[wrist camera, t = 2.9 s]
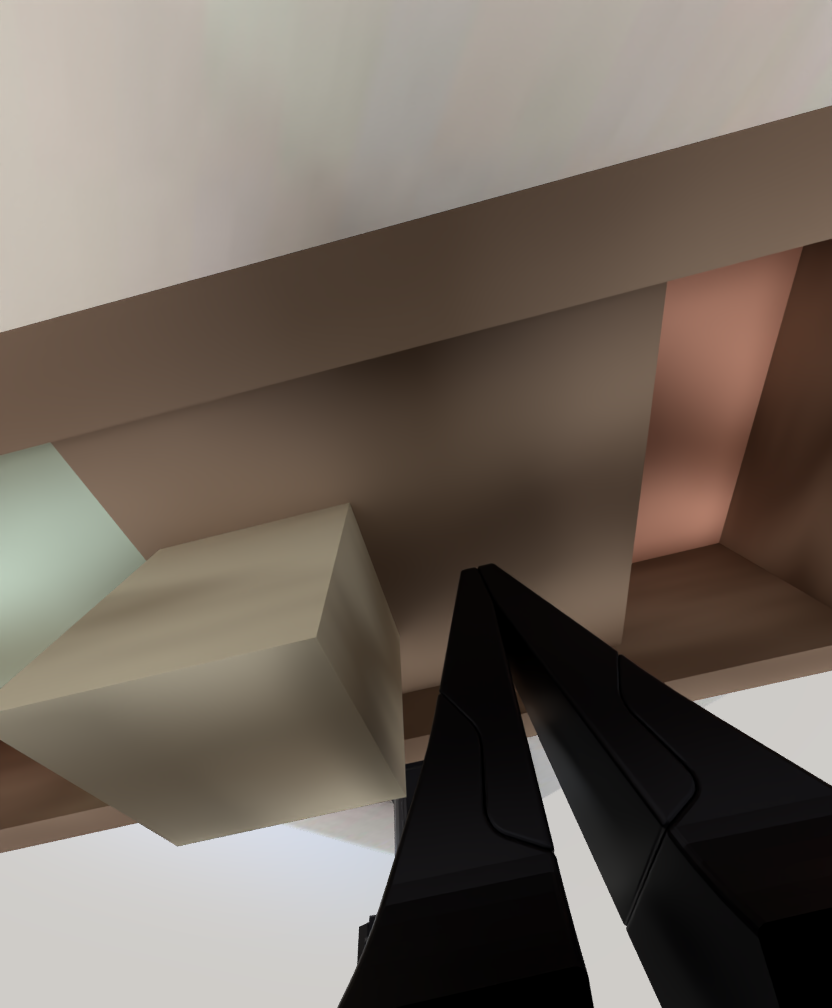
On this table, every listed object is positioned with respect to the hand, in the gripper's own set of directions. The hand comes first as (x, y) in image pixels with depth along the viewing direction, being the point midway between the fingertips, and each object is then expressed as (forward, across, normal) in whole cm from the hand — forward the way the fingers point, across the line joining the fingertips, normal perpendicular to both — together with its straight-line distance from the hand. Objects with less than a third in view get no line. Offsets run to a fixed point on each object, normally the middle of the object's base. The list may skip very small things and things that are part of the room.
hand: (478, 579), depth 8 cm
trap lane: (+5, +5, 0) cm, 7 cm away
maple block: (+1, +5, 0) cm, 5 cm away
